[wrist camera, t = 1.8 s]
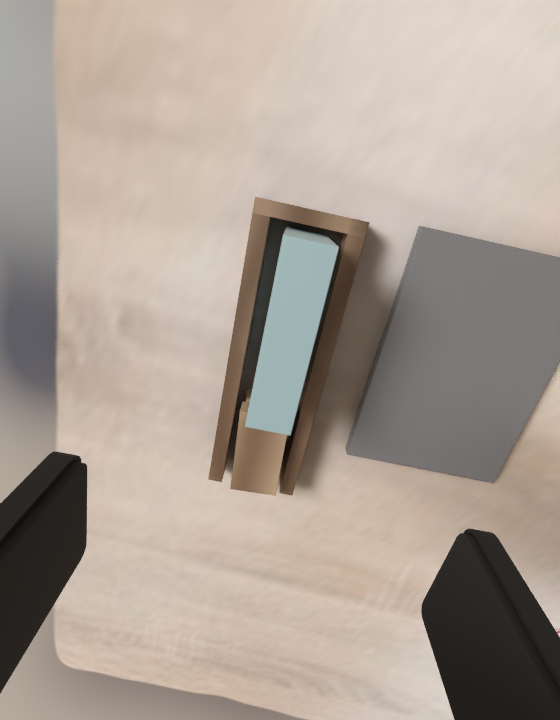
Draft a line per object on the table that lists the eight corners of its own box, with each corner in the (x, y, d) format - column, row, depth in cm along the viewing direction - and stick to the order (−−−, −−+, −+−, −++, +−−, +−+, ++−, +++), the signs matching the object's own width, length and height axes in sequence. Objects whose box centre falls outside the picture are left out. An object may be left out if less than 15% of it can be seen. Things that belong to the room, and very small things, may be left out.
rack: (363, 221, 27) (369, 222, 25) (292, 477, 36) (292, 495, 34) (258, 197, 27) (255, 196, 25) (214, 461, 36) (208, 479, 34)
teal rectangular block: (325, 235, 28) (339, 247, 19) (291, 376, 32) (290, 435, 24) (286, 226, 28) (283, 234, 19) (257, 370, 32) (244, 426, 24)
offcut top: (290, 408, 31) (289, 418, 29) (276, 483, 34) (275, 495, 33) (242, 401, 31) (240, 410, 29) (233, 477, 34) (230, 488, 32)
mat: (599, 266, 28) (609, 268, 27) (488, 475, 35) (493, 483, 34) (419, 226, 27) (423, 226, 26) (345, 447, 35) (347, 454, 34)
